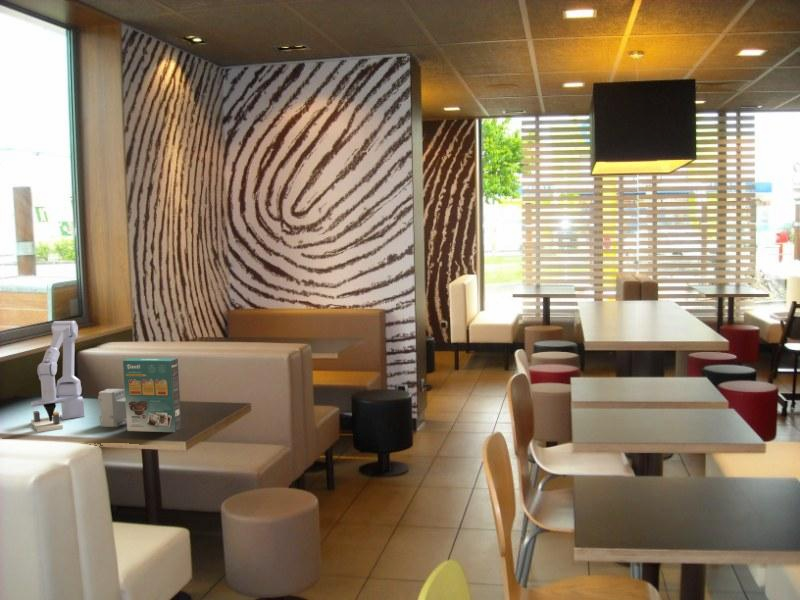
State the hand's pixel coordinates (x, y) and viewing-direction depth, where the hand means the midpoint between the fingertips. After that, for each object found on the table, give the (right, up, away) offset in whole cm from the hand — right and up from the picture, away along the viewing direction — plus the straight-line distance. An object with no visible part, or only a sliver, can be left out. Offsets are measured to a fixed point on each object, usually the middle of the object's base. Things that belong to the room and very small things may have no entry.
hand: (50, 420), depth 369 cm
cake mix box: (+48, -3, -9) cm, 49 cm away
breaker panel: (-3, -3, +4) cm, 6 cm away
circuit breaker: (+29, -2, +2) cm, 29 cm away
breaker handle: (+2, -1, +1) cm, 2 cm away
